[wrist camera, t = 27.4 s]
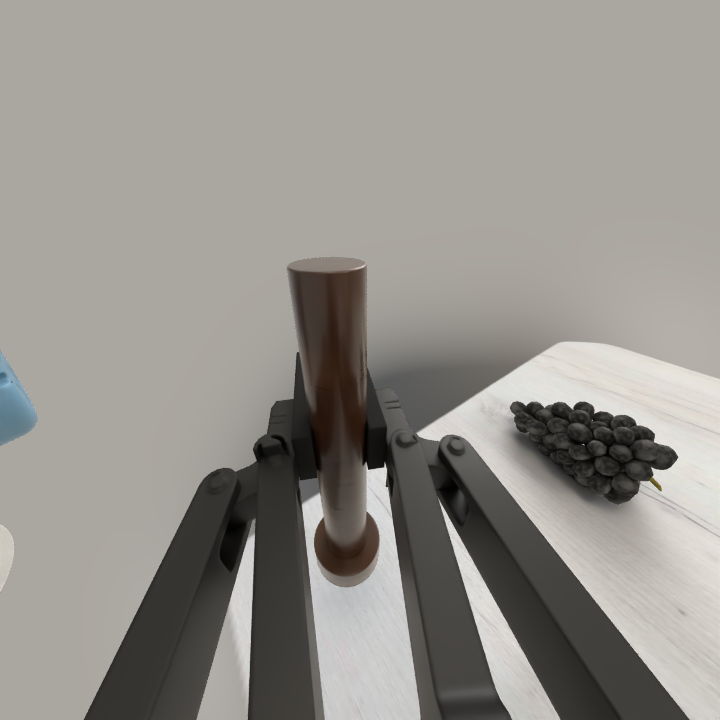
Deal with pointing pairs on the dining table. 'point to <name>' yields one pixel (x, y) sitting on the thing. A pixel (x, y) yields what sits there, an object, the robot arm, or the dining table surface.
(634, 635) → the dining table surface
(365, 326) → the stir stick
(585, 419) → the fruit
